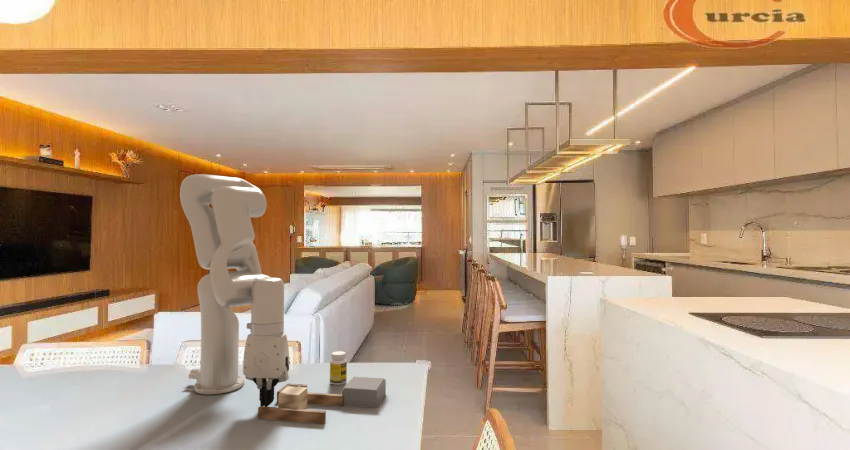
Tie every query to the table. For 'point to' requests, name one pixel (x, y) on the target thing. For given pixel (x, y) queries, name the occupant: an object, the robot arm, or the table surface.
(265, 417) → the channel
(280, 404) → the block
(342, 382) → the supplement bottle
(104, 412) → the table surface
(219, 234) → the robot arm
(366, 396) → the stand
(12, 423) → the table surface
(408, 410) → the table surface
